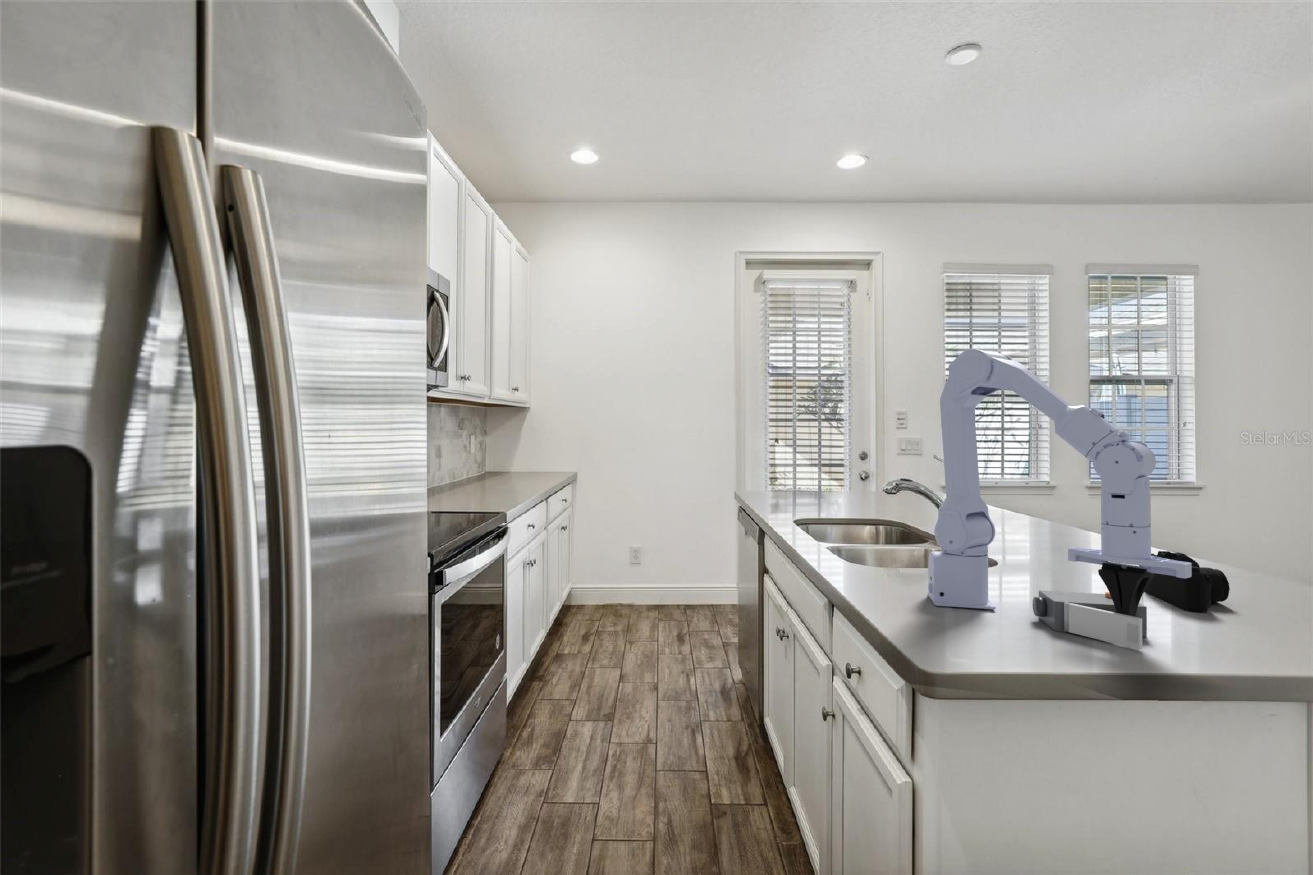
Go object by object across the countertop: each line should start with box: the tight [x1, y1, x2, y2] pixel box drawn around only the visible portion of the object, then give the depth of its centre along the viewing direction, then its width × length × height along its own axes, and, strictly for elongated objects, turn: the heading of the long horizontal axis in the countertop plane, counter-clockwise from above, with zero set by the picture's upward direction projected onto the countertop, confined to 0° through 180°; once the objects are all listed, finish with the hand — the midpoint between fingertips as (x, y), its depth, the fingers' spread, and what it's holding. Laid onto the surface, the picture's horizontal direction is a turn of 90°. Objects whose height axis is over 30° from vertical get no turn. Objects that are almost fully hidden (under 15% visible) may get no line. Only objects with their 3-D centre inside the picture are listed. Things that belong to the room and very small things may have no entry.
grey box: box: [1032, 590, 1148, 638], centre depth 95 cm, size 13×7×5 cm, turn 75°
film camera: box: [1144, 550, 1230, 614], centre depth 110 cm, size 15×10×9 cm, turn 168°
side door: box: [1063, 602, 1143, 651], centre depth 89 cm, size 10×1×4 cm, turn 30°
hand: (1126, 618), depth 88 cm, fingers closed
